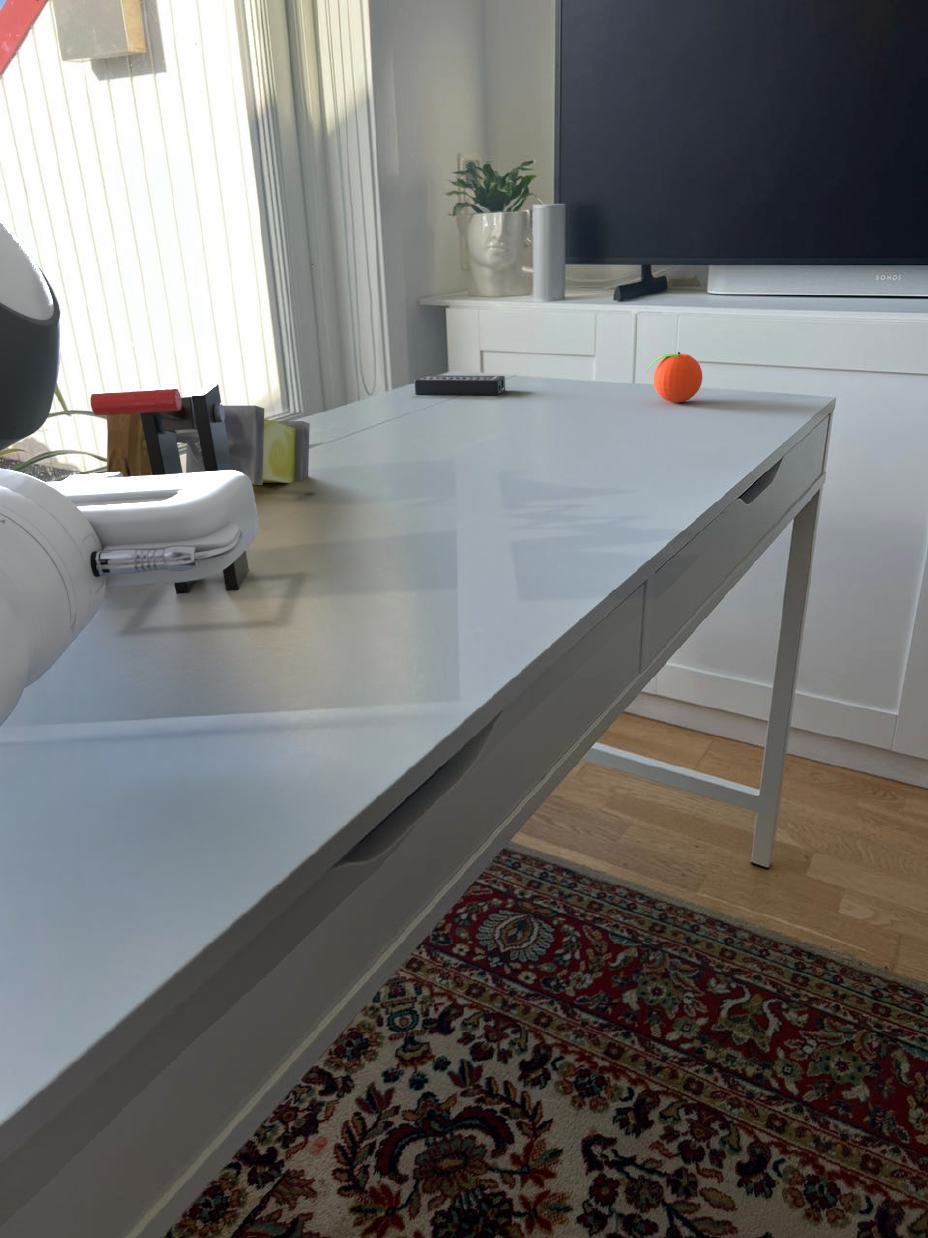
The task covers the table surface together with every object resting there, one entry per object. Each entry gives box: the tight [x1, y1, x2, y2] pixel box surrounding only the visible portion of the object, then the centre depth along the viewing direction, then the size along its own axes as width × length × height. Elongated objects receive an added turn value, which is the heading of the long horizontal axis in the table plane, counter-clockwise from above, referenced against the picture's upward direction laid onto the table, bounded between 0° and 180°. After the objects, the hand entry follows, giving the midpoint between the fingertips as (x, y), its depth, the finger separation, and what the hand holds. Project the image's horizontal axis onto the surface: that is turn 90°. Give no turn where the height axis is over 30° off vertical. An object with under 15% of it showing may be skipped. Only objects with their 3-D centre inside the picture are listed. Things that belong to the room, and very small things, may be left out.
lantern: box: [106, 405, 311, 486], centre depth 91 cm, size 8×17×30 cm
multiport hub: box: [413, 374, 506, 396], centre depth 151 cm, size 4×14×2 cm, turn 69°
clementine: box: [646, 351, 703, 404], centre depth 134 cm, size 8×7×7 cm
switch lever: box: [89, 387, 198, 433], centre depth 66 cm, size 12×6×2 cm, turn 0°
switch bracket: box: [140, 383, 250, 595], centre depth 73 cm, size 10×12×17 cm
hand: (101, 486), depth 54 cm, fingers closed
